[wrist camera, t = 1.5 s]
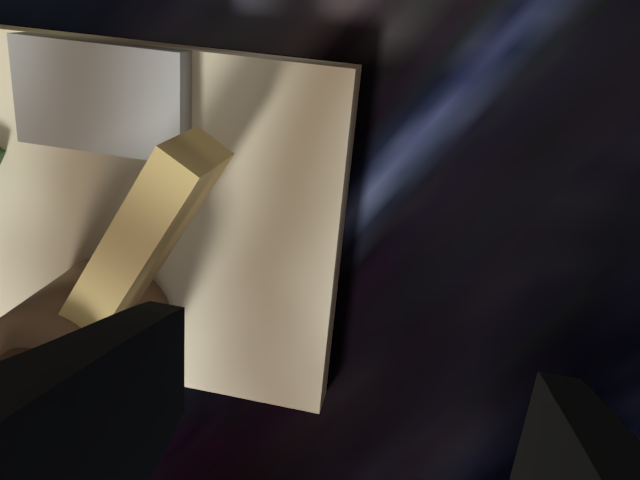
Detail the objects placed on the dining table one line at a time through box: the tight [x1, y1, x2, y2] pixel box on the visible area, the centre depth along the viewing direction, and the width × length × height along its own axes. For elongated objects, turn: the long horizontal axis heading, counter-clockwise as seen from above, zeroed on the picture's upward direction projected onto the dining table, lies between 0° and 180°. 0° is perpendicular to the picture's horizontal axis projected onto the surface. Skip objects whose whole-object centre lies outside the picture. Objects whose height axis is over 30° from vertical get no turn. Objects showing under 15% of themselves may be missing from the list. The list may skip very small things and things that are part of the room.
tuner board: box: [0, 24, 362, 414], centre depth 19 cm, size 16×11×2 cm
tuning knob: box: [0, 126, 234, 361], centre depth 16 cm, size 10×4×5 cm, turn 145°
